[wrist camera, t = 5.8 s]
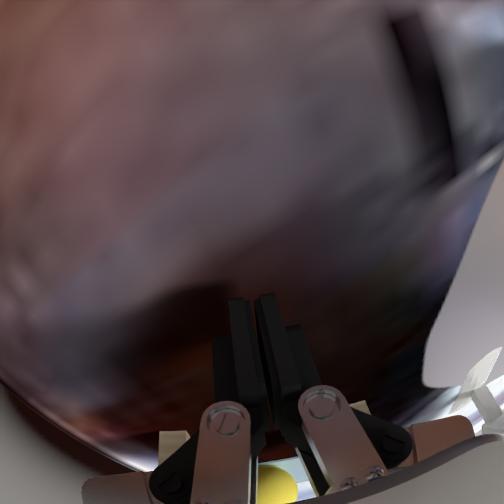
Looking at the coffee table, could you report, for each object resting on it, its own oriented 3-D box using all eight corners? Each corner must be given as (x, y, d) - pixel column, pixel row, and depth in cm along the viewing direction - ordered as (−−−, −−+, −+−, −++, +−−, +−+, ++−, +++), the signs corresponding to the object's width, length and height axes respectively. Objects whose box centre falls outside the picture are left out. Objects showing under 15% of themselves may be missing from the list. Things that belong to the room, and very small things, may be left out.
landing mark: (206, 467, 23) (206, 469, 22) (329, 449, 23) (329, 450, 23) (225, 491, 29) (225, 492, 29) (316, 477, 29) (317, 478, 29)
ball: (237, 529, 17) (239, 510, 22) (305, 520, 17) (295, 503, 22) (230, 474, 20) (233, 464, 25) (299, 466, 20) (289, 457, 26)
